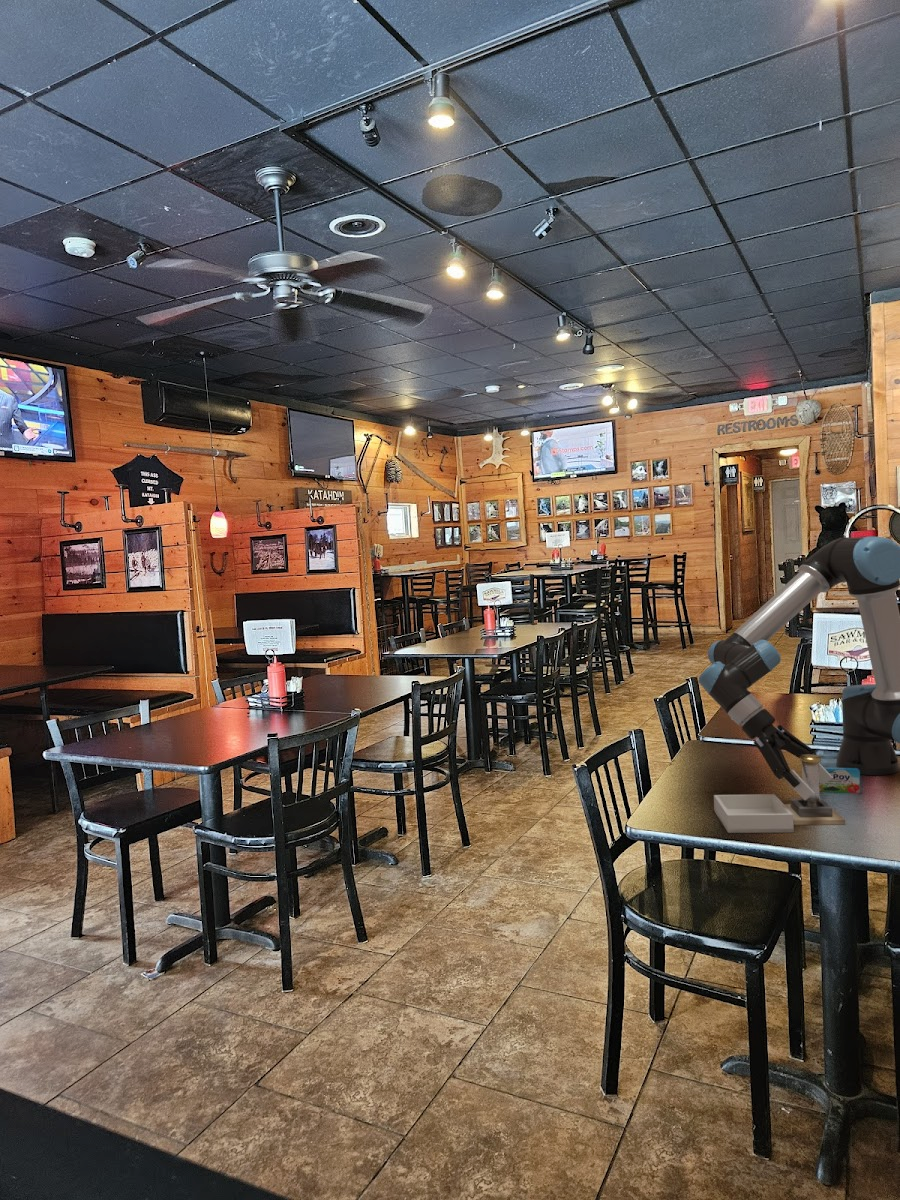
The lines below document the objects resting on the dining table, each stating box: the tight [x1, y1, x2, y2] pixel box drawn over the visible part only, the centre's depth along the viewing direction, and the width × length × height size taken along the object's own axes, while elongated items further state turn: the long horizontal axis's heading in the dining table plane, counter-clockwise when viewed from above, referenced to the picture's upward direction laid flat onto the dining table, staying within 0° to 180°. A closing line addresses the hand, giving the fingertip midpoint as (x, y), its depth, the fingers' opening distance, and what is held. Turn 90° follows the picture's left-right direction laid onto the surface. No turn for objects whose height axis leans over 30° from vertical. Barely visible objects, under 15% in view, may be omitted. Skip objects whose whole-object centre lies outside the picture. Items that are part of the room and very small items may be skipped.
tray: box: [713, 793, 795, 834], centre depth 179 cm, size 14×14×4 cm
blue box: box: [819, 766, 861, 795], centre depth 196 cm, size 12×2×6 cm, turn 73°
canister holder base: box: [783, 797, 846, 826], centre depth 180 cm, size 11×11×3 cm
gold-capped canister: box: [799, 754, 822, 807], centre depth 180 cm, size 4×4×13 cm
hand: (819, 788), depth 179 cm, fingers open, 13 cm apart
